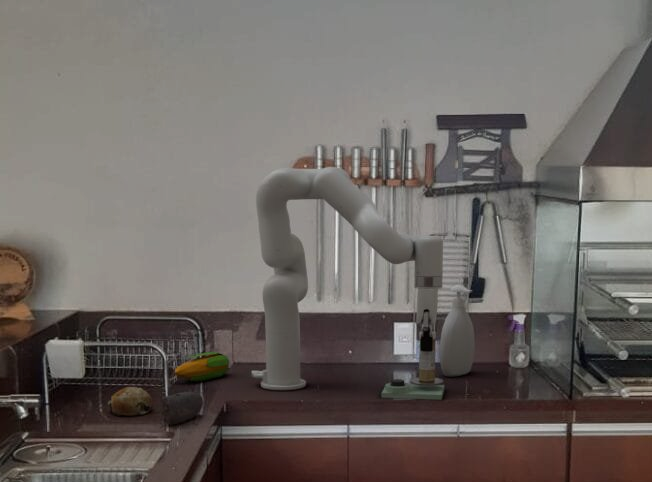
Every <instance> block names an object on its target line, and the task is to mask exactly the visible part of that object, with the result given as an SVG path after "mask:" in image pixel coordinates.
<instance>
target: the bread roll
mask: <svg viewBox="0 0 652 482" xmlns="http://www.w3.org/2000/svg"><path fill="white" fill-rule="evenodd" d="M110 398H111V399H110V400H109V401H108V402H107V406H109V411H110V412H111V413H112V414H113V415H115V416H118V417H121V416H125V417H135V416H143V415H145V414H147V413H150V412H151V411H152V410H153V408H154V401H153V398H152V396H151V394H149V393H148V392H147V391H146V390H145V389H143V388H142V387H137V386H126V387H123V388H121V389H119V390H117V392H115V393H114V394H112V395H111V397H110Z"/></svg>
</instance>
